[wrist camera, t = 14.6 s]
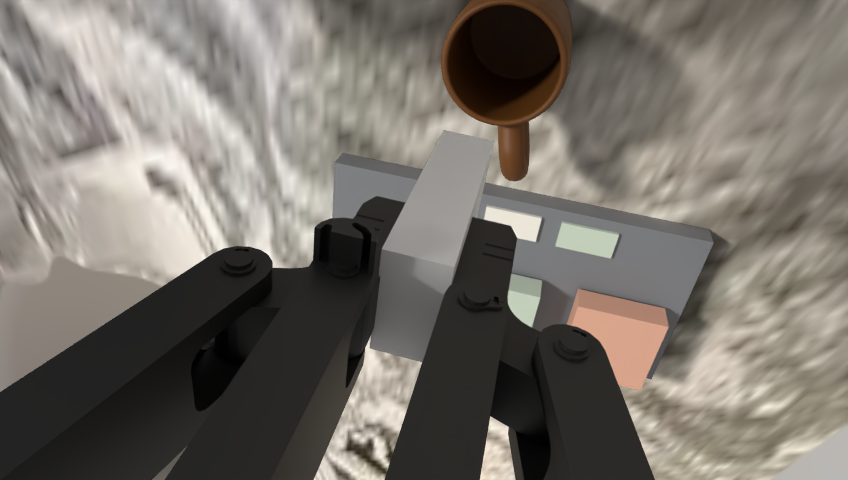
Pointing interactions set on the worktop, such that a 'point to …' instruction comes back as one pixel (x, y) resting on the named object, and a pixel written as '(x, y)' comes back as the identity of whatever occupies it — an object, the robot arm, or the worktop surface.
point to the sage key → (524, 297)
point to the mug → (508, 68)
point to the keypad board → (561, 242)
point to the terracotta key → (622, 332)
